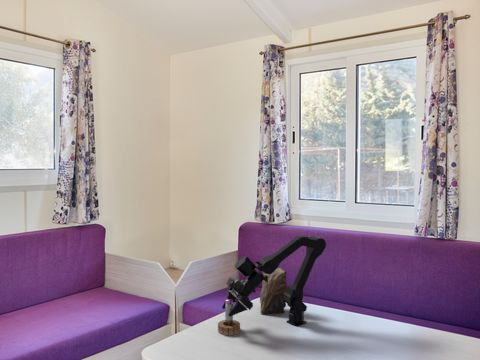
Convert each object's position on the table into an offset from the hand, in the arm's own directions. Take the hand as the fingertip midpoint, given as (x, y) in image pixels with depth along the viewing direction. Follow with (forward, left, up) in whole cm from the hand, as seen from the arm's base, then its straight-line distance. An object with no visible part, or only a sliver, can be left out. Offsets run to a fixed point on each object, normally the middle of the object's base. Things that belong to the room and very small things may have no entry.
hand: (225, 312), depth 174 cm
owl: (-31, -4, -8) cm, 33 cm away
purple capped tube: (-1, +1, -8) cm, 8 cm away
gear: (-1, +1, -8) cm, 8 cm away
